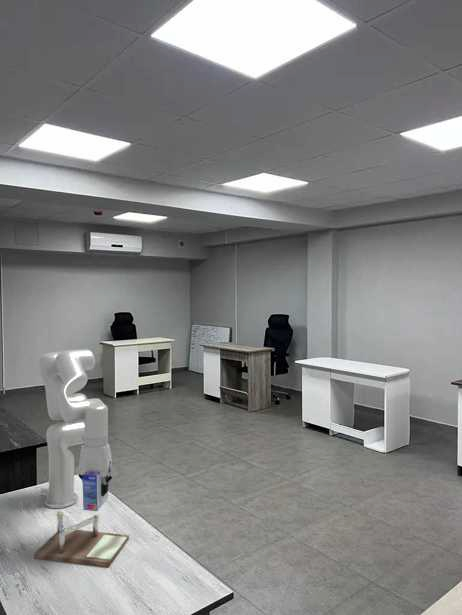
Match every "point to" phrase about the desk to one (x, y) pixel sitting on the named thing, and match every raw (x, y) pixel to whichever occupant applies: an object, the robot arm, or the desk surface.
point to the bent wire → (64, 532)
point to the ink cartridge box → (92, 491)
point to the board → (84, 548)
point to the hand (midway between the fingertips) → (95, 493)
